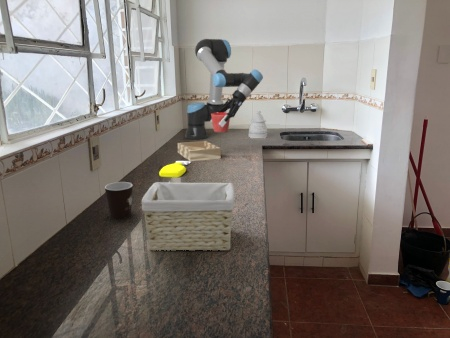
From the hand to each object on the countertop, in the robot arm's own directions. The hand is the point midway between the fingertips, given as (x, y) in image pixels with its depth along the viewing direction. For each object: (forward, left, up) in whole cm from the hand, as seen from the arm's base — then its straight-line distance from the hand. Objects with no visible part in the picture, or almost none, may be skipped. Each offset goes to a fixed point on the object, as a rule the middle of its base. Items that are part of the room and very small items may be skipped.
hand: (216, 124), depth 201 cm
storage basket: (+95, -47, -17) cm, 108 cm away
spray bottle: (+23, -30, -17) cm, 42 cm away
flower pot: (0, +3, -4) cm, 5 cm away
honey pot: (-36, +47, -17) cm, 62 cm away
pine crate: (0, -10, -17) cm, 20 cm away
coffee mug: (+68, -61, -17) cm, 93 cm away
